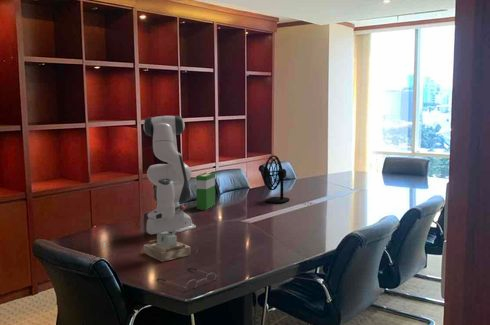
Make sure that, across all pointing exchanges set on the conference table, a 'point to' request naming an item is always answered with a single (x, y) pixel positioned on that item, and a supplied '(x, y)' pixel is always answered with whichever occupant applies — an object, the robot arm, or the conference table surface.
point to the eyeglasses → (191, 280)
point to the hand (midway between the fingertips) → (166, 239)
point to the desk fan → (281, 175)
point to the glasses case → (167, 240)
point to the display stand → (166, 251)
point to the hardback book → (205, 190)
